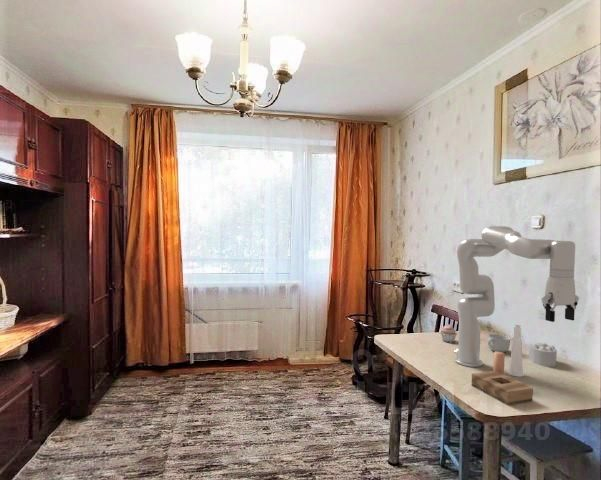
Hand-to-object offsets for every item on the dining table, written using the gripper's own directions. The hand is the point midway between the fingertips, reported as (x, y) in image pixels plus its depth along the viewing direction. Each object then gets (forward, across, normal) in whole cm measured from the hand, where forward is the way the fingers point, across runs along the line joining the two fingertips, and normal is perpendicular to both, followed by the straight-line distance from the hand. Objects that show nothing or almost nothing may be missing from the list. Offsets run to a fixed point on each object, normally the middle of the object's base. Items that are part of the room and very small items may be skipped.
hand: (559, 320), depth 141 cm
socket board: (+31, +13, -13) cm, 36 cm away
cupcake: (+31, -15, -78) cm, 85 cm away
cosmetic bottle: (+31, -10, -27) cm, 43 cm away
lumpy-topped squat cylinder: (+32, -37, -36) cm, 61 cm away
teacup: (+32, -28, -56) cm, 70 cm away
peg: (+31, +4, -23) cm, 39 cm away
